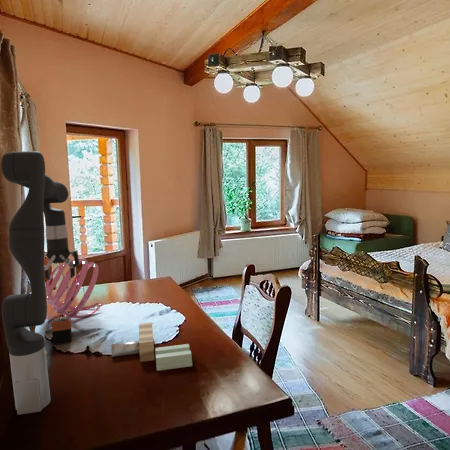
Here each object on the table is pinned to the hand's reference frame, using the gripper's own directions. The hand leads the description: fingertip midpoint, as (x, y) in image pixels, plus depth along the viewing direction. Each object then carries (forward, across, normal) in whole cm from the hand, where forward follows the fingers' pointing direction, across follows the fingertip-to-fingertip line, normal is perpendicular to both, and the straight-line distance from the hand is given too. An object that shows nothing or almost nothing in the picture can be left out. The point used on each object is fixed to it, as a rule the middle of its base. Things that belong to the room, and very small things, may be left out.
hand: (60, 278), depth 152 cm
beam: (+27, +31, -15) cm, 43 cm away
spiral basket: (+26, -2, +34) cm, 43 cm away
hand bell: (+27, -10, -7) cm, 30 cm away
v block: (+27, +40, -27) cm, 55 cm away
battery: (+27, -2, +3) cm, 27 cm away
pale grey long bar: (+25, +25, -16) cm, 39 cm away
